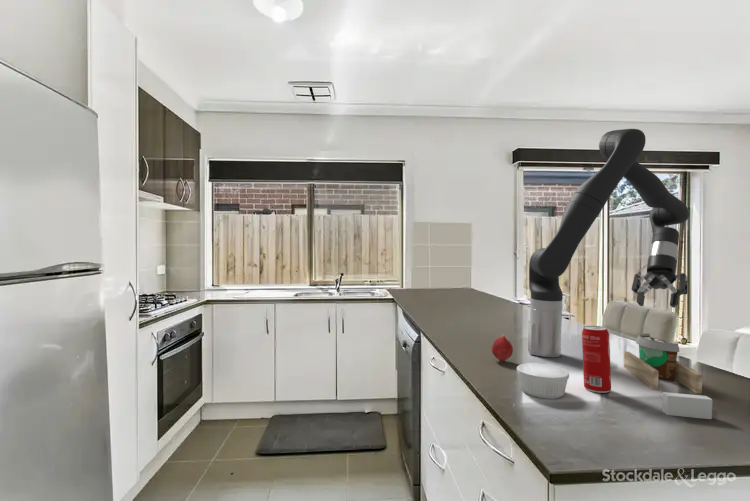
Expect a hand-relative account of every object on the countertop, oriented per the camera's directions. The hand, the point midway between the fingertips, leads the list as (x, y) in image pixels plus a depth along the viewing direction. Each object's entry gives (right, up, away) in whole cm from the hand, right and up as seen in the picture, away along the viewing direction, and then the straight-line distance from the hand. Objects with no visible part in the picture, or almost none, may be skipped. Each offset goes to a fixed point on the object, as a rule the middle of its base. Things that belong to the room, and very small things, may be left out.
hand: (656, 305), depth 124 cm
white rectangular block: (-22, -17, -40) cm, 49 cm away
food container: (-12, -17, -14) cm, 25 cm away
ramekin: (-47, -17, -28) cm, 57 cm away
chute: (-12, -17, -18) cm, 27 cm away
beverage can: (-33, -17, -26) cm, 45 cm away
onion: (-49, -16, -5) cm, 52 cm away
